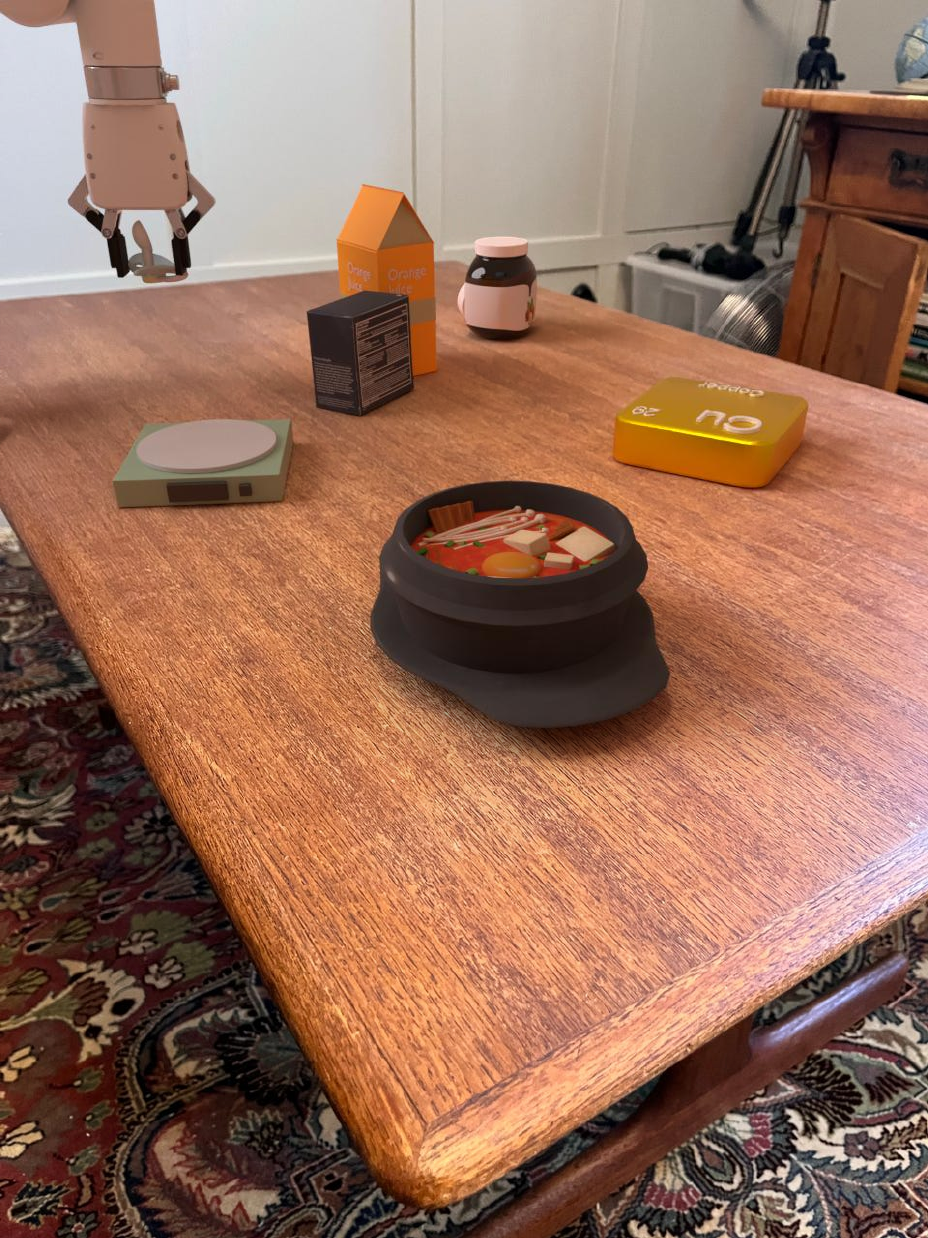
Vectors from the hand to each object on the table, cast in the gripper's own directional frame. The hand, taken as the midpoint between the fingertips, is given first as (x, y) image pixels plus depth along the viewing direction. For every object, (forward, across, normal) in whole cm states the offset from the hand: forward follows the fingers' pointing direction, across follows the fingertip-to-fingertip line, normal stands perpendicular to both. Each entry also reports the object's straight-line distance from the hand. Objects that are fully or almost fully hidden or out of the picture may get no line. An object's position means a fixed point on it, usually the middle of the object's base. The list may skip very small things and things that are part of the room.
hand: (152, 273), depth 107 cm
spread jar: (+11, -40, -19) cm, 46 cm away
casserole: (+12, -33, +59) cm, 68 cm away
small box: (+12, -23, +8) cm, 27 cm away
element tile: (+11, -56, +27) cm, 63 cm away
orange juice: (+12, -26, -3) cm, 29 cm away
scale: (+12, -9, +28) cm, 32 cm away
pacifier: (+1, -1, 0) cm, 1 cm away
